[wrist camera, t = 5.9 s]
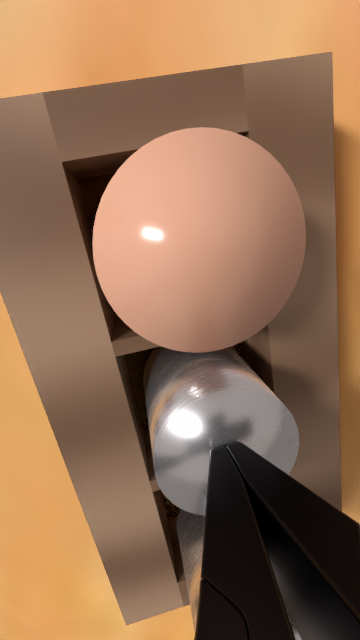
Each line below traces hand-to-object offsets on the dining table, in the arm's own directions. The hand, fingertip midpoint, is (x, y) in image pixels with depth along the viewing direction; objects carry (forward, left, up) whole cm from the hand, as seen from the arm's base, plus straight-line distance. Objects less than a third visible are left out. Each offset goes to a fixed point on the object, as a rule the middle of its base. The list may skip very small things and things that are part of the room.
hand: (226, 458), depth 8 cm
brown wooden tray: (0, 0, -6) cm, 6 cm away
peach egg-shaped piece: (+6, 0, -4) cm, 7 cm away
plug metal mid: (0, 0, -5) cm, 5 cm away
